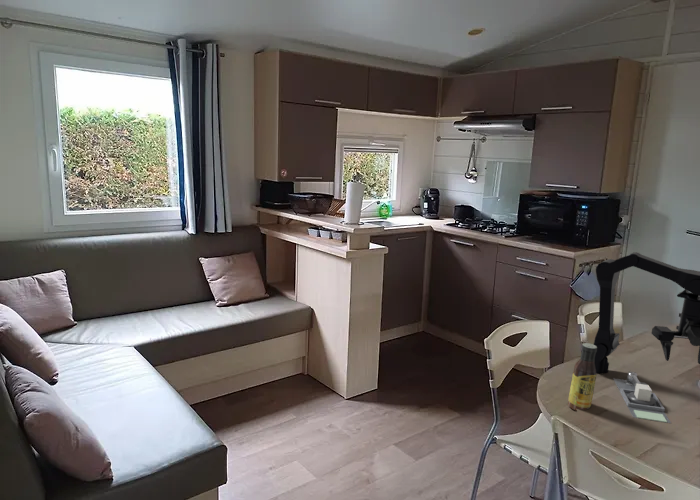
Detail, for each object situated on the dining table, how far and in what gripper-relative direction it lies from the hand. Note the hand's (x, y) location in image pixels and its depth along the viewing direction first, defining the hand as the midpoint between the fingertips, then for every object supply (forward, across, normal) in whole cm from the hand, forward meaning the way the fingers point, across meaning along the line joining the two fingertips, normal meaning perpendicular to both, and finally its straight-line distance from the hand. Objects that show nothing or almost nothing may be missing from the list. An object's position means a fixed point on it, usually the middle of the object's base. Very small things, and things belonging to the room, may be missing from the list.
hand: (683, 361), depth 157 cm
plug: (+11, -12, -6) cm, 18 cm away
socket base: (+13, -12, -5) cm, 18 cm away
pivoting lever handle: (+11, -12, +1) cm, 16 cm away
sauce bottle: (+13, -32, -12) cm, 36 cm away
